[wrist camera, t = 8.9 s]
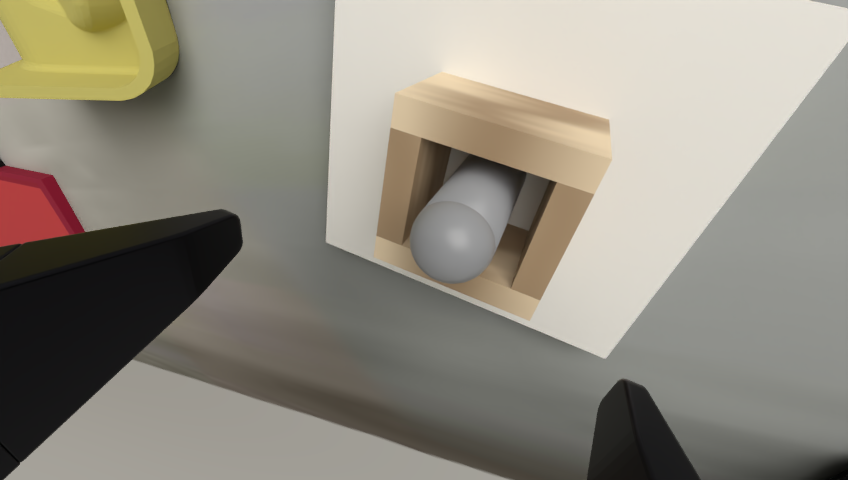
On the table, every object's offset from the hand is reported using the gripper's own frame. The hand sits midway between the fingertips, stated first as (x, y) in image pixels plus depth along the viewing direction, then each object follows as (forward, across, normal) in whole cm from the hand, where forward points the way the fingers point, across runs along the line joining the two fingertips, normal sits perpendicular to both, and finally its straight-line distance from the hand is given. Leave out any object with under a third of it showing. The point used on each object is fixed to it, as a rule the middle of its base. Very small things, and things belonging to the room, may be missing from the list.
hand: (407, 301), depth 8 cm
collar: (+8, 0, 0) cm, 8 cm away
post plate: (+10, 0, 0) cm, 10 cm away
